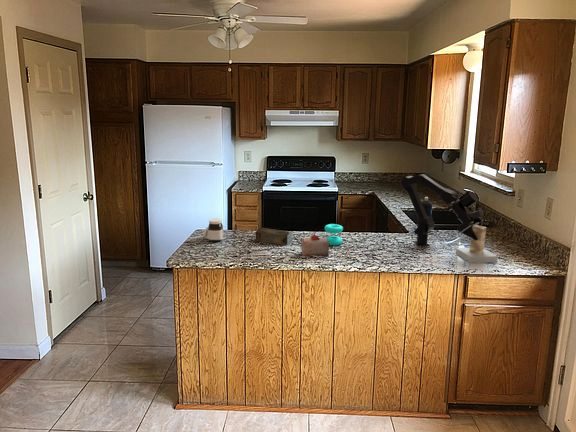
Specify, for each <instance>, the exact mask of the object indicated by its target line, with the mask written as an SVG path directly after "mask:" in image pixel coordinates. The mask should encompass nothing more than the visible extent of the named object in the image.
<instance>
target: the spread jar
mask: <svg viewBox="0 0 576 432" xmlns="http://www.w3.org/2000/svg"><path fill="white" fill-rule="evenodd" d="M222 221H223V219H221V218H210V219H209V220H208V226H207V227H206V228H205V229H204V230H203V233H202V237H203V238H205V239H208V241H209V242H211V243H219V242H223V240H224V225H223V222H222Z"/></svg>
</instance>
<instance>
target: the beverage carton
mask: <svg viewBox="0 0 576 432" xmlns="http://www.w3.org/2000/svg"><path fill="white" fill-rule="evenodd" d="M255 242H260V243H266V244H267V243H268V244H274V245H283V246H289V244H291V243H292V242H293V232H292V231H287V230H282V229H281V230H280V229H275V228H274V229H273V228H268V227H260V228H259V229H257V230H256V231H255Z"/></svg>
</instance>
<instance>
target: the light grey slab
mask: <svg viewBox="0 0 576 432" xmlns="http://www.w3.org/2000/svg"><path fill="white" fill-rule="evenodd" d="M469 251H470V247H457V248H456V249H455V255H457V256H458V257H460V258H462V259H463V260H464V261H466V262H468V263H469V264H478V263H481V264H482V263H497V261H498V255H496V254H494V253H493V252H491V251H489V250H487V249H485V248H484V251H483V253H481V254H476V253H471V252H469Z"/></svg>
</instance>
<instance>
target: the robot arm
mask: <svg viewBox="0 0 576 432" xmlns="http://www.w3.org/2000/svg"><path fill="white" fill-rule="evenodd" d="M418 183H420V184H422V185H424V186H425V187H426V188H428V189H429V190H431V192H432V191H433V192H434V193H435V194H436V195H438V198H440V200H442V202H443V203H445V204H446V205H447V204H449V205H447V211H449V212H450V211H451V210H452V212H454V214H455V216H457V218H456V219H457V220H458V221H460V223H461V224H460V225H459V226H457V228H456V230H457V231H458V233H461V234H463V235H465V236H467V237H469V238H470V239H471V238H472V239H474V240H476V241H477V240H478V238H477V236H476V235H475V233H474V231H473V227H474V226H476V225H478V226H483V224H484V218H483V217H485V216H484V213H485V211H484V210H483V209H482V208H481V207H478V208H476V209H475V211H473V212H472V210H468V209H469V208H471V207H472V206H473V205H475V204H476V203H477V202H478V201H479V198H478V196H477V194H475V193H474V192H472V191H471V190H467V191H466V192H465V193H464V194H458V193H457V192H456V191H454V190H452V189H450V188H446V187H443V186H442V185H441V184H439V183H438V182H436V181H434V180H433V179H432V178H430V177H429V176H427V174H424V173H422V174H418V175H415V176H413V175H408V176H404V177H402V178H401V179H400V185H401V187H402V189H403V190H404V191H405V192H406V193H407V194H408V196H409V199H410V201H411V204H412V207H413V209H414V210H415V214H416V216H417V225H418V226H419V227H418V228H417V227H416V228H415V229H414V231H413V232H414V234H415V235H416V240H415V241H413V243H414V245H416V246H418V247H429V246H430V244H429V243H428V237H429V234H431V232H432V231H433V230H434V228H435V221H434V218H433V216H431V217H429V216H428V215H427V214H426V212H425V209H424V207H423V204H422V202H421V201H422V199H421V197H420V195H419V192H418ZM485 237H486V235H485Z"/></svg>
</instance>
